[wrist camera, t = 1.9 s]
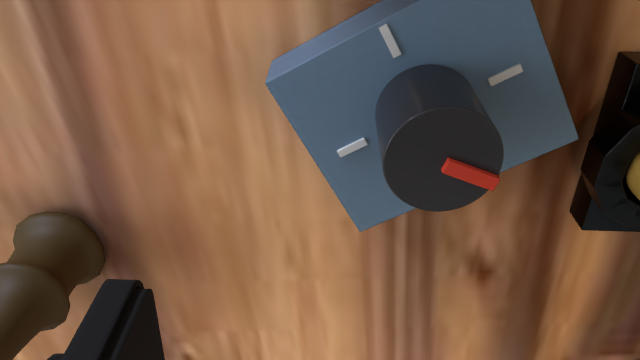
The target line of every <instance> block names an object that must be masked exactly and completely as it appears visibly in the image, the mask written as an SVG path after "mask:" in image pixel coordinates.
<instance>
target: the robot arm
mask: <svg viewBox="0 0 640 360" xmlns="http://www.w3.org/2000/svg"><path fill="white" fill-rule="evenodd" d="M47 360H165V358H164V352H163V347H162V341H161V335H160V330H159V324H158V318H157V312H156V307H155V301H154V295H153V291H152V290H151V289H144V287H143V284H142V282H141V281H139V280H119V279H107V280H106V281H105V282H104V283H103V284H102V286H101V288H100V290H99V291H98V293H97V295H96V297H95V299H94V301H93V302H92V304H91V306H90V308H89V310H88V311H87V313H86V315H85V317H84V319H83V321H82V322H81V324H80V326H79V328H78V330H77V331H76V333H75V335H74V337H73V339H72V341H71V342H70V344H69V346H68V348H67V350H66V351H65V353H64V354H53V355H52V356H51V357H49V358H48V359H47Z"/></svg>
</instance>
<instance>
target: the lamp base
mask: <svg viewBox="0 0 640 360" xmlns="http://www.w3.org/2000/svg"><path fill="white" fill-rule="evenodd" d="M639 153H640V52H619V53H618V56H617V59H616V62H615V66H614V69H613V72H612V75H611V79H610V82H609V85H608V88H607V92H606V95H605V98H604V101H603V105H602V108H601V111H600V114H599V117H598V121H597V124H596V127H595V130H594V134H593V137H592V138H591V140H589V143H588V147H587V150H586V153H585V156H584V160H583V163H582V166H581V176H580V179H579V182H578V185H577V189H576V192H575V195H574V198H573V201H572V205H571V208H570V213H571V214H572V216H573V217H574V219H575V220H576V222H577V223H578V225H579V226H580V228H581V229H582V230H598V231H635V232H640V200H639V199H638V198H637V197H636V196H635V195H634V194H633V193H632V191H631V190H630V189H629V187H628V184H627V171H628V168H629V166H630V164H631V162H632V161H633V159H634V158H635V157H636V156H637V155H638V154H639Z"/></svg>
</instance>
